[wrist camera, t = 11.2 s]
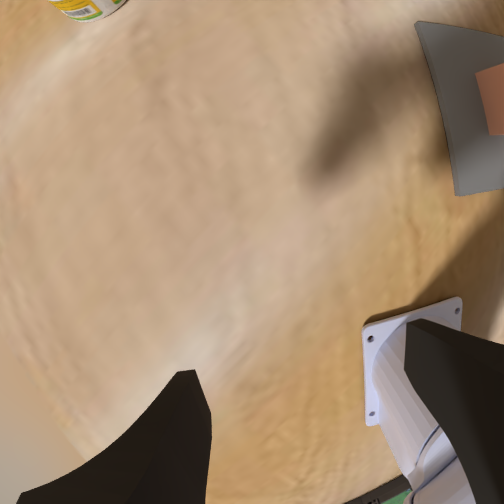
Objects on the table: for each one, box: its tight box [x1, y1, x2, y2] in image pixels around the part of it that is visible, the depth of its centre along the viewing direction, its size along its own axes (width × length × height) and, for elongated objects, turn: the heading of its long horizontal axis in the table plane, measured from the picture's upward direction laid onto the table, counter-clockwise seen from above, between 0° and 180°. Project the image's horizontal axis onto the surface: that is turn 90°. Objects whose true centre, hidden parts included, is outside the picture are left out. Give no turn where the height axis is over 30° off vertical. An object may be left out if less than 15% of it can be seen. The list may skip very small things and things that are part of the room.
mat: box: [414, 21, 504, 196], centre depth 16 cm, size 12×12×1 cm
